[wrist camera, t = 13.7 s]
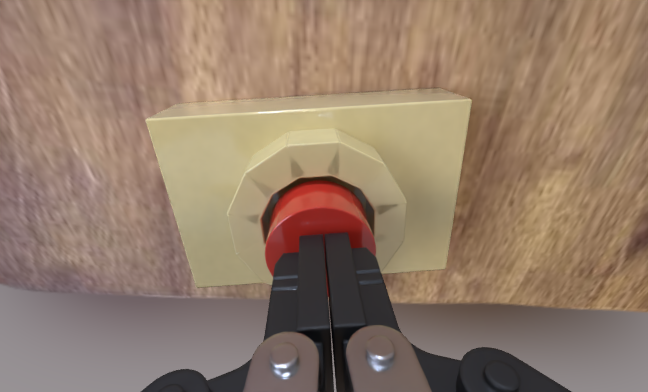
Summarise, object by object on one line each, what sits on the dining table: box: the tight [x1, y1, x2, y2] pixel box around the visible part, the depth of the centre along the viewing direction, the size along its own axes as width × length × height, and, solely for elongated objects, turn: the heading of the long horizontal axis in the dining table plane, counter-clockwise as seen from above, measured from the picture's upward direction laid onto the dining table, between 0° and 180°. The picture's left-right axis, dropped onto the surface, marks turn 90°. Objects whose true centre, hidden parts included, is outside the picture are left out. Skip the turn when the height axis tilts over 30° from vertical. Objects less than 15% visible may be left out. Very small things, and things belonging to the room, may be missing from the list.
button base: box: [146, 88, 472, 288], centre depth 14 cm, size 12×8×5 cm, turn 93°
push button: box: [265, 180, 376, 297], centre depth 11 cm, size 4×4×2 cm
